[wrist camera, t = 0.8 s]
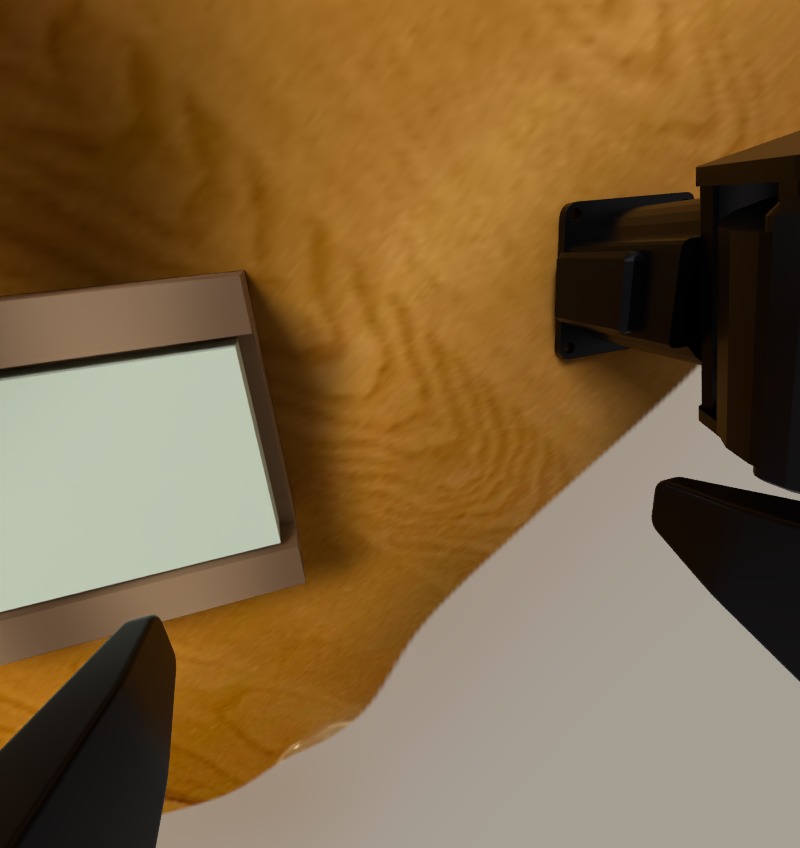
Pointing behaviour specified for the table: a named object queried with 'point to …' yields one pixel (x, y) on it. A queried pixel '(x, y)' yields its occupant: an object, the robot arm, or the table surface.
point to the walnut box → (129, 333)
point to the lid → (128, 469)
